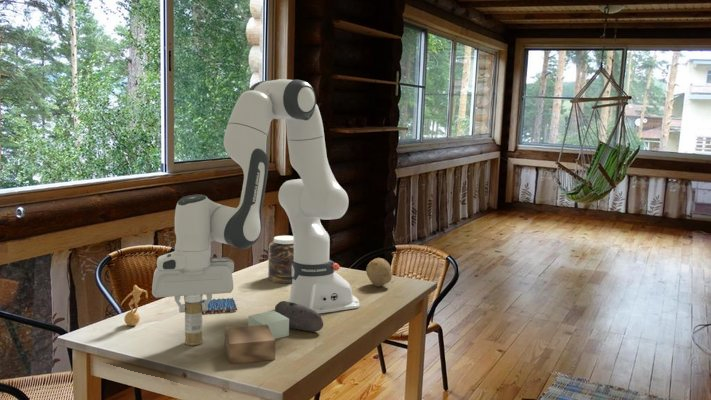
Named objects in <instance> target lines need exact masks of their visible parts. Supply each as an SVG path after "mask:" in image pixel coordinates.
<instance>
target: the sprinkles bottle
mask: <svg viewBox="0 0 711 400" xmlns="http://www.w3.org/2000/svg"><path fill="white" fill-rule="evenodd" d="M183 300H184V304H185V312H184V332H185V333H184V336H185V341H184V344H186V345H187V346H198V345H200V344H202V343H203V342H204V341H203V313H202V300H203V295H188V296H183Z"/></svg>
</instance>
